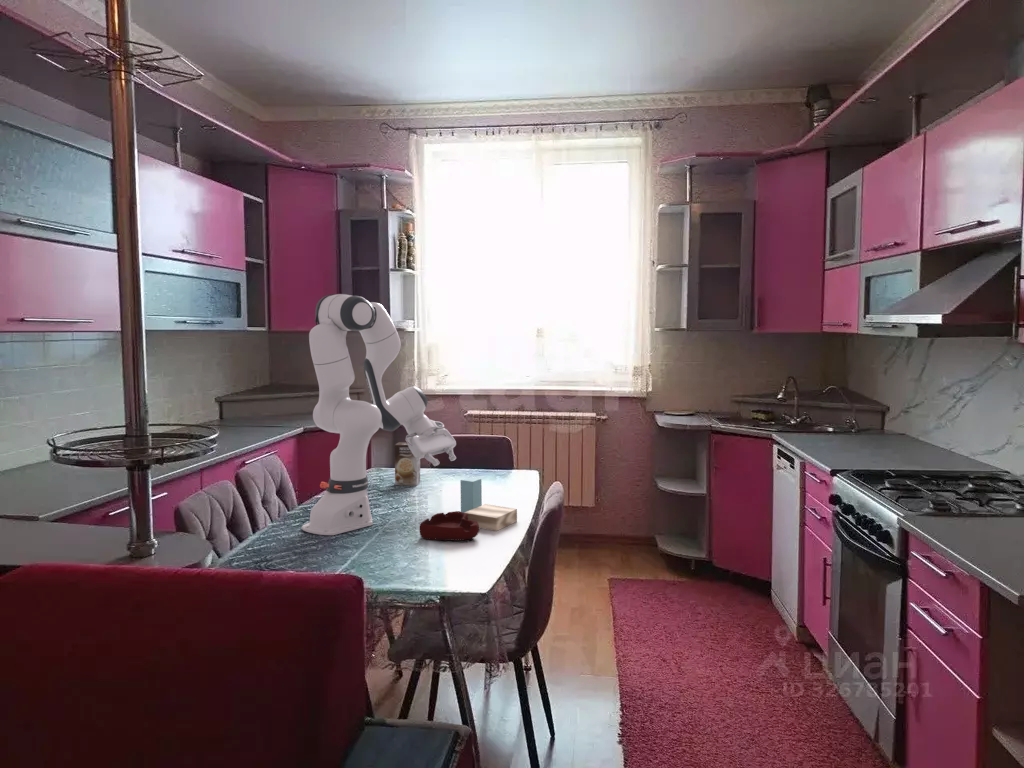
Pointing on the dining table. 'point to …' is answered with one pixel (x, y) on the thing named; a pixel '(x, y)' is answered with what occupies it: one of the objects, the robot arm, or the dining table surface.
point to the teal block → (470, 494)
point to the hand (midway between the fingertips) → (445, 462)
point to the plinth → (493, 516)
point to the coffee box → (406, 466)
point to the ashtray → (449, 527)
